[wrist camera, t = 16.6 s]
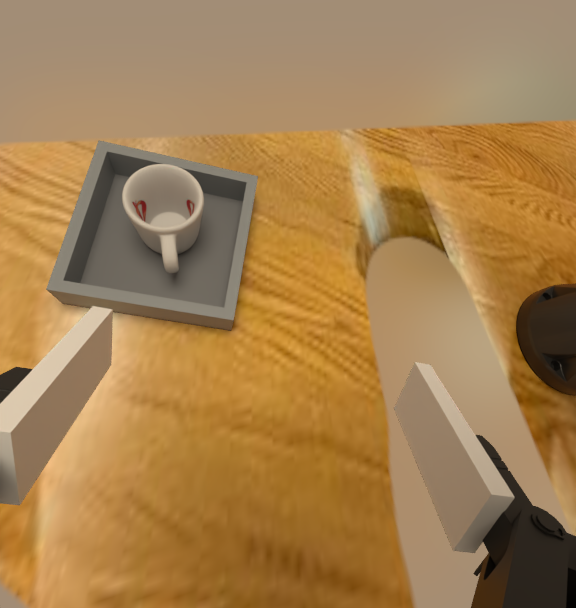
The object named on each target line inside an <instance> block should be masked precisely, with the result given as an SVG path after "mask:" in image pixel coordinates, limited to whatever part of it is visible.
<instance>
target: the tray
mask: <svg viewBox="0 0 576 608" xmlns="http://www.w3.org/2000/svg"><path fill="white" fill-rule="evenodd" d="M155 164H168V165H173V166H177V167H179V168H182V169H184V170H185V171H187V172H189V173H190V174H191V175H192V176H193V177H194V178H195V179H196V180H197V181H198V183H199V184H200V186H201V189H202V191H203V196H204V206H203V211H202V217H201V223H200V229H199V233H198V237H197V239H196V241H195V243H194V244H193V245H192V246H191V247H190V248H189V249H188V250H186V251H185V252H182V253H180V254H178V266H179V270H178V272H176V273H168V272H166V270H165V267H164V263H163V257H162V254H160V253H158V252H156V251H154V250H152V249H151V248H149V247H148V246H147V245H146V244H145V243H144V241H143V240H142V238H141V237H140V235H139V233H138V232H137V230H136V228H135V227H134V225H133V223H132V222H131V220H130V218H129V217H128V215H127V213H126V211H125V209H124V206H123V202H122V193H123V188H124V186H125V184H126V182H127V180H128V179H129V178H130V176H131V175H132V174H134V173H135V172H136V171H138V170H139V169H141V168H144V167H146V166H150V165H155ZM257 179H258V176H254V175H250V174H245V173H241V172H237V171H232V170H228V169H223V168H219V167H214V166H210V165H206V164H201V163H197V162H192V161H188V160H183V159H179V158H174V157H170V156H166V155H161V154H157V153H152V152H148V151H143V150H139V149H135V148H130V147H126V146H121V145H117V144H112V143H108V142H104V141H98V144H97V147H96V150H95V153H94V156H93V158H92V161H91V164H90V167H89V170H88V173H87V175H86V178H85V181H84V184H83V187H82V190H81V192H80V195H79V198H78V201H77V204H76V207H75V209H74V212H73V215H72V218H71V221H70V224H69V226H68V229H67V232H66V235H65V238H64V241H63V244H62V246H61V249H60V252H59V255H58V258H57V261H56V263H55V266H54V269H53V272H52V275H51V278H50V280H49V283H48V286H47V289H46V290H48V291H49V292H50V293H51V294H52V295H53V296H54V297H56V298H57V299H58V300H59V301H60V302H61V303H63V304H68V305H74V306H81V307H87V308H92V306H96V307H101V308H107V309H113V312H118V313H124V314H130V315H137V316H143V317H149V318H155V319H162V320H168V321H174V322H180V323H187V324H193V325H199V326H205V327H211V328H218V329H224V330H230V331H231V329H232V325H233V321H234V316H235V310H236V304H237V298H238V292H239V286H240V280H241V274H242V268H243V262H244V256H245V250H246V244H247V238H248V232H249V226H250V220H251V214H252V208H253V203H254V197H255V191H256V185H257Z"/></svg>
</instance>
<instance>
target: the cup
mask: <svg viewBox="0 0 576 608" xmlns="http://www.w3.org/2000/svg"><path fill="white" fill-rule="evenodd" d="M122 202H123V206H124V209H125V211H126V213H127V215H128V217H129V218H130V220H131V222H132V223H133V225H134V227H135V228H136V230H137V232H138V233H139V235H140V237H141V238H142V240H143V241H144V243H145V244H146V245H147V246H148V247H149V248H151V249H152V250H154V251H156V252H158V253H160V254H162V257H163V263H164V267H165V270H166V272H168V273H176V272H178V270H179V266H178V254H180V253H182V252H185V251H186V250H188V249H189V248H190V247H191V246H192V245H193V244H194V243H195V241H196V239H197V237H198V233H199V229H200V223H201V217H202V211H203V206H204V196H203V191H202V189H201V186H200V184H199V183H198V181H197V180H196V179H195V178H194V177H193V176H192V175H191V174H190V173H189V172H187V171H185V170H184V169H182V168H179V167H177V166H173V165H168V164H155V165H150V166H146V167H144V168H141V169H139V170H138V171H136V172H135V173H134V174H132V175H131V176H130V178H129V179H128V180H127V182H126V184H125V186H124V188H123V193H122Z"/></svg>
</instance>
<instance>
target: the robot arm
mask: <svg viewBox="0 0 576 608" xmlns="http://www.w3.org/2000/svg"><path fill="white" fill-rule="evenodd" d="M112 315H113V309H107V308H101V307H96V306H92V308H91V309H90V310H89V311H88V312H87V313H86V314H85V315H84V316H83V317H82V318H81V319H80V320H79V321H78V322H77V323H76V324H75V325H74V327H73V328H72V329H71V330H70V331H69V332H68V333H67V334H66V335H65V336H64V337H63V338H62V339H61V340H60V341H59V342H58V343H57V344H56V346H55V347H54V348H53V349H52V350H51V351H50V352H49V353H48V354H47V355H46V356H45V357H44V358H43V359H42V360H41V361H40V362H39V363H38V365H37V366H36V367H35V368H34V369H27V368H21V367H15V368H13V369H11V370H9V371H7V372H5V373H3V374H1V375H0V503H4V504H13V505H20V504H21V503H22V501H23V500H24V498H25V497H26V495H27V493H28V492H29V490H30V489H31V487H32V486H33V484H34V483H35V481H36V480H37V478H38V477H39V475H40V473H41V472H42V470H43V469H44V467H45V466H46V464H47V463H48V461H49V460H50V458H51V457H52V455H53V453H54V452H55V450H56V449H57V447H58V446H59V444H60V443H61V441H62V440H63V438H64V436H65V435H66V433H67V432H68V430H69V429H70V427H71V426H72V424H73V423H74V421H75V420H76V418H77V416H78V415H79V413H80V412H81V410H82V409H83V407H84V406H85V404H86V403H87V401H88V400H89V398H90V396H91V395H92V393H93V392H94V390H95V389H96V387H97V386H98V384H99V383H100V381H101V380H102V378H103V376H104V375H105V373H106V372H107V370H108V369H109V367H110V366H111V355H112ZM517 334H518V339H519V343H520V346H521V349H522V352H523V354H524V356H525V358H526V360H527V362H528V363H529V365H530V366H531V368H532V369H533V370H534V371H535V373H536V374H537V375H538V376H539V377H540V378H541V379H542V380H543V381H544V382H546V383H547V384H548V385H550V386H551V387H553V388H554V389H556V390H558V391H560V392H563V393H566V394H570V395H576V284H561V285H554V286H550V287H547V288H545V289H542V290H540V291H538V292H535V293H533V294H532V295H530V296H529V297H528V298H527V299H526V300H525V301H524V303H523V304H522V306H521V308H520V311H519V314H518V319H517ZM394 410H395V412H396V415H397V417H398V420H399V422H400V424H401V427H402V429H403V432H404V434H405V436H406V439H407V441H408V443H409V446H410V449H411V451H412V453H413V456H414V458H415V461H416V463H417V465H418V468H419V470H420V472H421V475H422V477H423V480H424V482H425V485H426V487H427V489H428V492H429V494H430V497H431V499H432V501H433V504H434V506H435V509H436V511H437V513H438V516H439V518H440V521H441V523H442V525H443V528H444V530H445V533H446V535H447V538H448V540H449V542H450V544H451V547H452V550H453V551H460V552H470V553H475V552H476V550H477V549H478V547H479V546H480V545H481V543H482V542H484V544H485V546H486V548H487V550H488V552H489V553H488V555H487V556H486V558H485V559H484V560H483V561H482V563H481V564H480V565H479V567H478V568H477V569H476V571H475V572H474V574H475V575H476V576H478V574H479V573H480V572H481V573H480V576H479V580H478V584H477V587H476V591H475V595H474V598H473V602H472V606H471V608H576V536H573V535H571V534H569V533H566V531H565V529H564V528H563V526H562V525H561V524H560V523H559V522H558V521H557V520H556V519H555V518H554V517H553V516H552V515H550V514H549V513H548V512H546V511H544V510H543V509H541V508H539V507H536V506H533V505H532V504H531V502H530V501H529V499H528V498H527V496H526V495H525V493H524V492H523V490H522V489H521V487H520V486H519V484H518V483H517V482H516V480H515V479H514V477H513V475H512V474H511V472H510V471H508V468H507V466H506V465H505V463H504V462H503V461H501V457H500V456H499V455H498V453H497V451H496V450H495V449H494V447H493V446H492V445H491V444H490V443H489V442H488V441H487V440H486V439H485V438H483V437H482V436H480V435H475V434H474V432H473V431H472V429H471V428H470V426H469V424H468V423H467V421H466V420H465V418H464V417H463V415H462V414H461V412H460V410H459V409H458V407H457V406H456V404H455V402H454V401H453V399H452V398H451V396H450V395H449V393H448V391H447V390H446V388H445V387H444V385H443V384H442V382H441V380H440V379H439V377H438V376H437V374H436V373H435V371H434V370H433V368H432V366H431V365H429V364H423V363H418V362H415V363H414V365H413V367H412V369H411V371H410V374H409V376H408V378H407V380H406V383H405V385H404V387H403V389H402V391H401V394H400V396H399V398H398V401H397V403H396V405H395V407H394Z"/></svg>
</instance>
